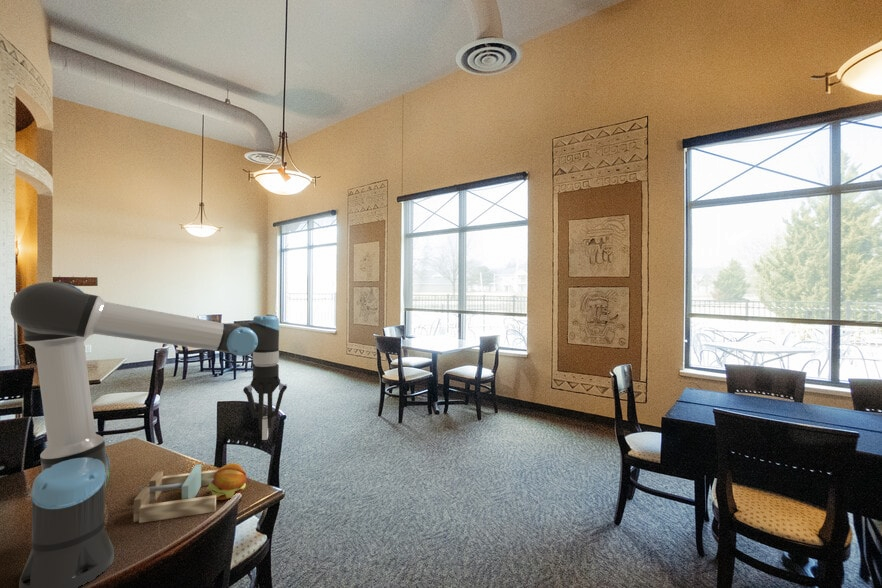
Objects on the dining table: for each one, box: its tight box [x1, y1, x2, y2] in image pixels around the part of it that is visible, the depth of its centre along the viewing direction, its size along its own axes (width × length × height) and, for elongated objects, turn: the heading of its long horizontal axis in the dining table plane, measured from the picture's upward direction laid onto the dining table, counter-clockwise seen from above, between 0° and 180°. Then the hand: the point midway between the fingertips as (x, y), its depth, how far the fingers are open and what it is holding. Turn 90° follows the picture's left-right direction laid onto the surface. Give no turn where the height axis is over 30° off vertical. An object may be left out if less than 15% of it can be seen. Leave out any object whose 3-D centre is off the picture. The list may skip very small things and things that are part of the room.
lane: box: [133, 469, 219, 524], centre depth 117 cm, size 20×19×6 cm
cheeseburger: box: [207, 462, 248, 501], centre depth 120 cm, size 10×11×10 cm
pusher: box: [139, 463, 202, 500], centre depth 115 cm, size 14×14×7 cm
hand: (265, 438), depth 124 cm, fingers closed
